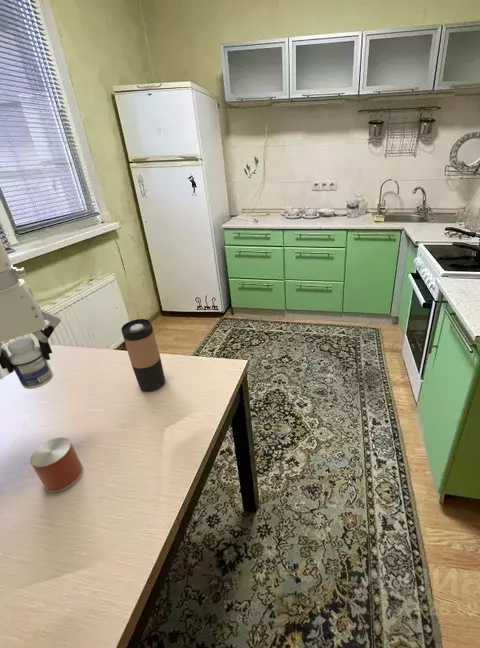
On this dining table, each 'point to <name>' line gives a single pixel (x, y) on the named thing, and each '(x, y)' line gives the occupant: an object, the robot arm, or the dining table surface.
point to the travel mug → (144, 354)
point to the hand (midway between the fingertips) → (29, 362)
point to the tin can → (57, 464)
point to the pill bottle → (29, 363)
